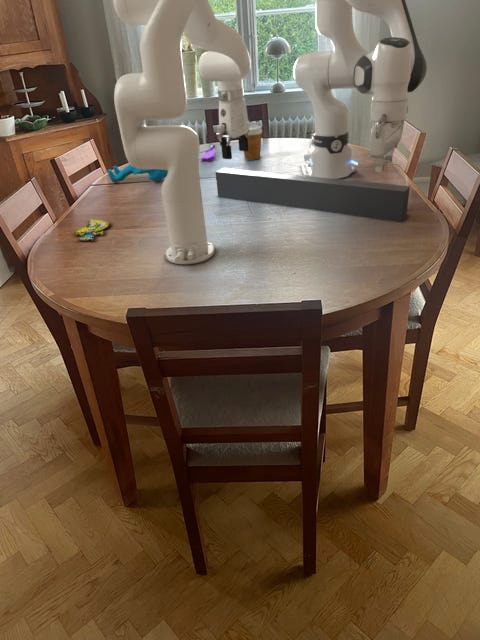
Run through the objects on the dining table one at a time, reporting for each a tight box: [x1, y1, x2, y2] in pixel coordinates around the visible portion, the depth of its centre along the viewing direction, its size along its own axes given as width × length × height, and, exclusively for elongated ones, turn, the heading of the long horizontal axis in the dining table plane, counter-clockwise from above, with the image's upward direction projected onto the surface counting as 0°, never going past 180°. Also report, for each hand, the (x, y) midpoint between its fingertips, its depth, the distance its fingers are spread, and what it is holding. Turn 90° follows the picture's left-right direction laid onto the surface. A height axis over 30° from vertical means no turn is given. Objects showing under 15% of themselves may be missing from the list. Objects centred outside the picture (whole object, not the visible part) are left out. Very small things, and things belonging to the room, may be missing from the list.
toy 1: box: [74, 219, 111, 242], centre depth 143 cm, size 10×1×15 cm
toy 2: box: [107, 163, 168, 183], centre depth 182 cm, size 17×11×30 cm
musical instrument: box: [199, 144, 216, 162], centre depth 208 cm, size 24×2×20 cm
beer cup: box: [243, 124, 263, 161], centre depth 196 cm, size 10×10×12 cm
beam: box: [215, 167, 411, 222], centre depth 146 cm, size 62×5×8 cm, turn 58°
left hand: (235, 154), depth 152 cm, fingers open, 9 cm apart
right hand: (383, 167), depth 129 cm, fingers open, 8 cm apart
